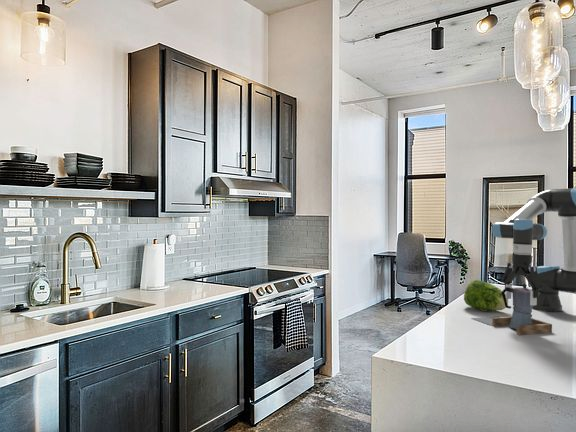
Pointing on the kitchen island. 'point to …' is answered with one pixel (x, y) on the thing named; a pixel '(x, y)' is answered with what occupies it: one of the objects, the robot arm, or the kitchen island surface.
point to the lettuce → (484, 296)
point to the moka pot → (519, 306)
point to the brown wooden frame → (525, 326)
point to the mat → (485, 320)
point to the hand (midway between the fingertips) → (520, 301)
